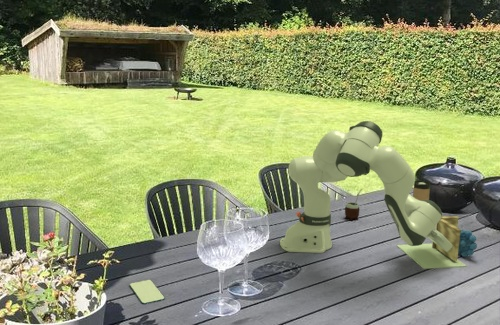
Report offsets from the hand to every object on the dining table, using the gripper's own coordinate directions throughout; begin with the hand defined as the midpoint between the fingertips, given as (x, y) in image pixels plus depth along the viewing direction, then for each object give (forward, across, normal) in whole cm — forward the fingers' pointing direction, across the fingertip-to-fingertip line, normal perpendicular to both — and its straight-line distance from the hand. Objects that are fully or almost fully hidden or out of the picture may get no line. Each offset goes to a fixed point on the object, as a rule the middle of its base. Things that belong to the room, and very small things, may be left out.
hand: (445, 247), depth 209 cm
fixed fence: (+6, +9, 0) cm, 11 cm away
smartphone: (-80, -20, +88) cm, 120 cm away
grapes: (+10, 0, -4) cm, 10 cm away
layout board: (0, +2, +7) cm, 7 cm away
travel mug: (+11, +45, -4) cm, 46 cm away
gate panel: (+3, +1, +1) cm, 4 cm away
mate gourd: (-12, +51, +19) cm, 56 cm away
